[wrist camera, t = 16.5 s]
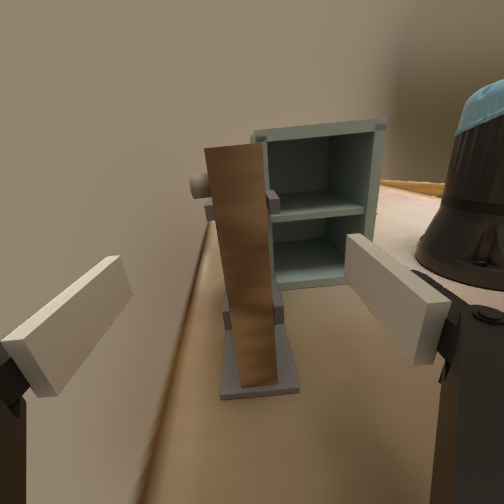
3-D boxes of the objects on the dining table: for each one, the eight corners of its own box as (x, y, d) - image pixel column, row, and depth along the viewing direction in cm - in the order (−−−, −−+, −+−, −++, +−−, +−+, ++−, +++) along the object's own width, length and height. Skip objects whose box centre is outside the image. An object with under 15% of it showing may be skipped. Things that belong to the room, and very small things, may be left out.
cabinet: (329, 240, 48) (334, 128, 40) (457, 377, 19) (564, 80, 11) (231, 250, 48) (216, 140, 40) (215, 400, 19) (152, 120, 11)
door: (263, 294, 31) (251, 145, 24) (278, 384, 19) (262, 142, 12) (231, 298, 31) (210, 149, 24) (226, 389, 19) (180, 150, 12)
